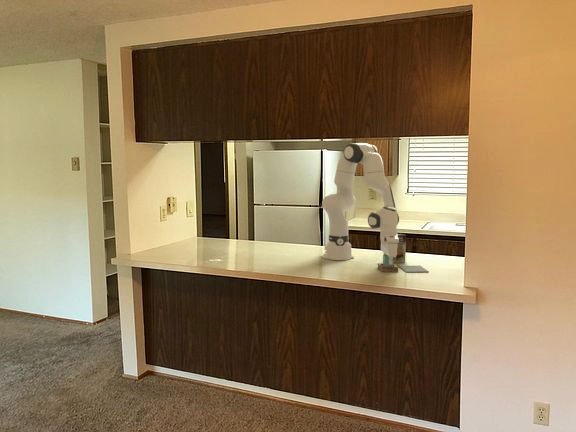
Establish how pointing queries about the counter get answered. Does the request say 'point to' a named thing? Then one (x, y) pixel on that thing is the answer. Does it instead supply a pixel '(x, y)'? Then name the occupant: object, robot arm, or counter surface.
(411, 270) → the slate mat
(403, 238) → the coffee box
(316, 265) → the counter surface
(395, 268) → the walnut collar
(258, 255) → the counter surface
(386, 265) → the teal block
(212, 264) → the counter surface
